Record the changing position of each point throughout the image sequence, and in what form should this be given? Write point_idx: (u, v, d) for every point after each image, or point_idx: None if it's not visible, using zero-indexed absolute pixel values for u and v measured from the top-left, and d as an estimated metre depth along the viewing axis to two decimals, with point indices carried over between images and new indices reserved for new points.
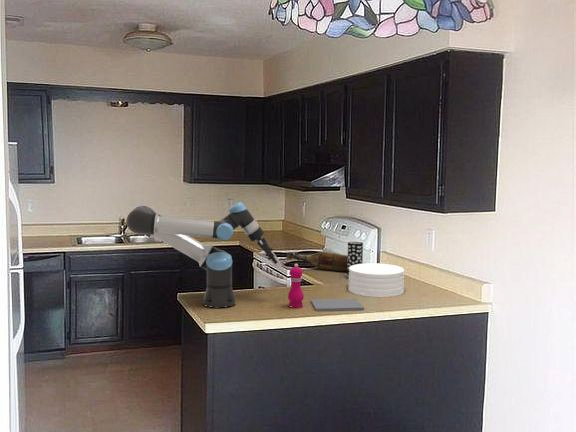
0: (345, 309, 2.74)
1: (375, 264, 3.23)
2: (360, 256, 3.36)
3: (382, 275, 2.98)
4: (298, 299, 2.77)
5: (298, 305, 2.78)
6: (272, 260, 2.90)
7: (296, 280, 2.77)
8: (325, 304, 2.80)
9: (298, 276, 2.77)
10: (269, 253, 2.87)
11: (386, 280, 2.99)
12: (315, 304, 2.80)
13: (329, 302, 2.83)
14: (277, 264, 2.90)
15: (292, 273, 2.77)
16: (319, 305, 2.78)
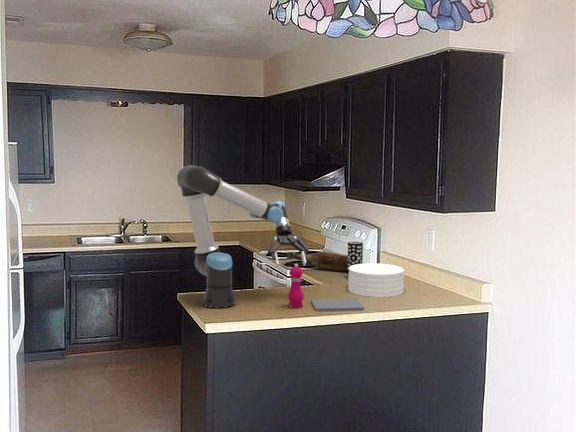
0: (345, 309, 2.74)
1: (375, 264, 3.23)
2: (360, 256, 3.36)
3: (382, 275, 2.98)
4: (298, 299, 2.77)
5: (298, 305, 2.78)
6: (303, 253, 2.93)
7: (296, 280, 2.77)
8: (325, 304, 2.80)
9: (298, 276, 2.77)
10: None
11: (386, 280, 2.99)
12: (315, 304, 2.80)
13: (329, 302, 2.83)
14: None
15: (292, 273, 2.77)
16: (319, 305, 2.78)
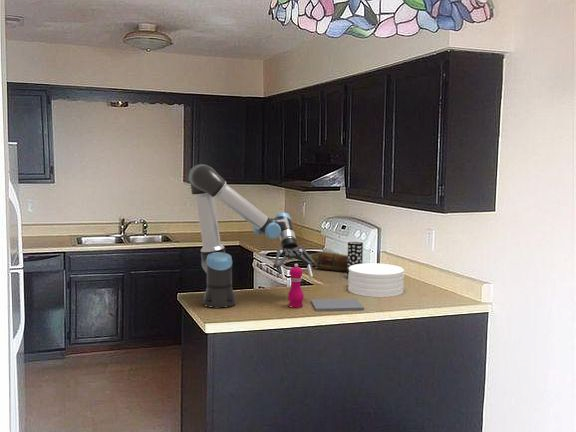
0: (345, 309, 2.74)
1: (375, 264, 3.23)
2: (360, 256, 3.36)
3: (382, 275, 2.98)
4: (298, 299, 2.77)
5: (298, 305, 2.78)
6: None
7: (296, 280, 2.77)
8: (325, 304, 2.80)
9: (298, 276, 2.77)
10: None
11: (386, 280, 2.99)
12: (315, 304, 2.80)
13: (329, 302, 2.83)
14: None
15: (292, 273, 2.77)
16: (319, 305, 2.78)
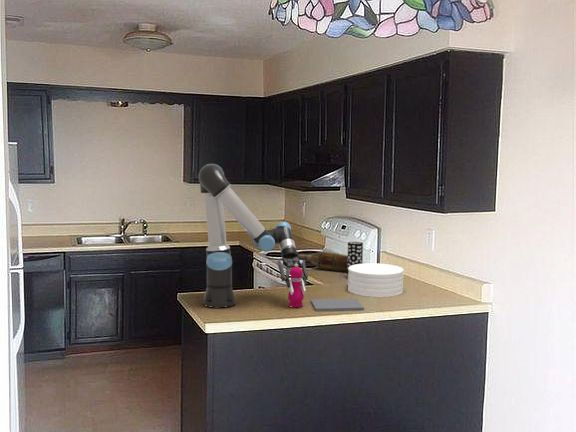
0: (345, 309, 2.74)
1: (374, 264, 3.23)
2: (360, 256, 3.36)
3: (381, 275, 2.98)
4: (298, 299, 2.77)
5: (298, 305, 2.78)
6: (303, 281, 2.80)
7: (296, 280, 2.77)
8: (325, 304, 2.80)
9: (298, 276, 2.77)
10: None
11: (385, 280, 2.99)
12: (315, 304, 2.80)
13: (329, 302, 2.83)
14: None
15: (292, 273, 2.77)
16: (319, 305, 2.78)
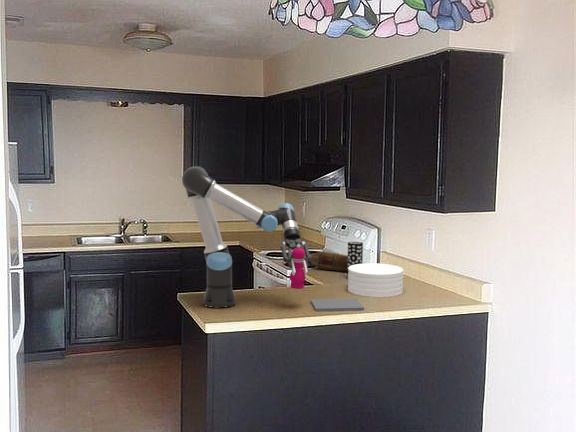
0: (345, 309, 2.74)
1: (374, 264, 3.23)
2: (360, 256, 3.36)
3: (381, 275, 2.98)
4: (300, 280, 2.76)
5: (300, 286, 2.77)
6: None
7: (298, 261, 2.76)
8: (325, 304, 2.80)
9: (300, 257, 2.76)
10: None
11: (385, 280, 2.99)
12: (315, 304, 2.80)
13: (329, 302, 2.83)
14: None
15: (294, 254, 2.76)
16: (319, 305, 2.78)
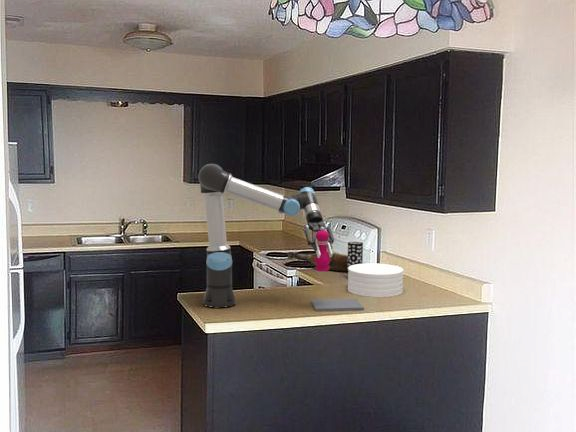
0: (345, 309, 2.74)
1: (374, 264, 3.23)
2: (360, 256, 3.36)
3: (381, 275, 2.98)
4: (325, 262, 2.76)
5: (325, 268, 2.77)
6: None
7: (323, 243, 2.76)
8: (325, 304, 2.80)
9: (325, 239, 2.76)
10: None
11: (385, 280, 2.99)
12: (315, 304, 2.80)
13: (329, 302, 2.83)
14: None
15: (318, 236, 2.75)
16: (319, 305, 2.78)
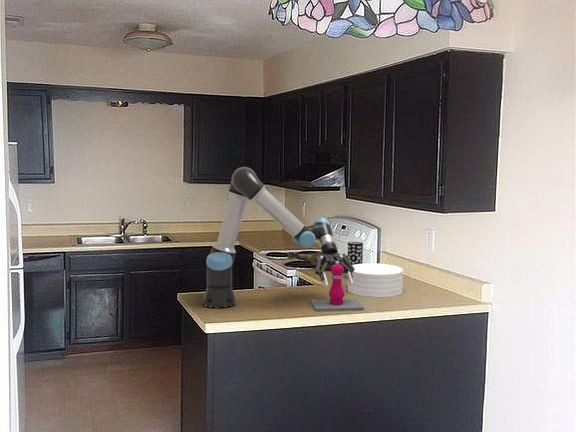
0: (345, 309, 2.74)
1: (374, 264, 3.23)
2: (360, 256, 3.36)
3: (381, 275, 2.98)
4: (339, 296, 2.78)
5: (339, 302, 2.79)
6: (349, 274, 2.83)
7: (337, 277, 2.78)
8: (325, 304, 2.80)
9: (339, 273, 2.78)
10: None
11: (385, 280, 2.99)
12: (315, 304, 2.80)
13: (329, 302, 2.83)
14: None
15: (333, 270, 2.78)
16: (319, 305, 2.78)
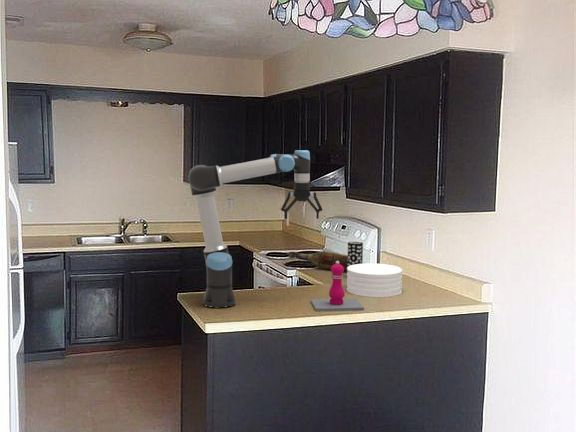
0: (345, 309, 2.74)
1: (373, 264, 3.22)
2: (360, 256, 3.36)
3: (380, 275, 2.98)
4: (339, 296, 2.78)
5: (339, 302, 2.79)
6: None
7: (338, 277, 2.78)
8: (325, 304, 2.80)
9: (340, 273, 2.78)
10: (320, 206, 2.98)
11: (384, 280, 2.99)
12: (315, 304, 2.80)
13: (329, 302, 2.83)
14: None
15: (333, 270, 2.78)
16: (319, 305, 2.78)
